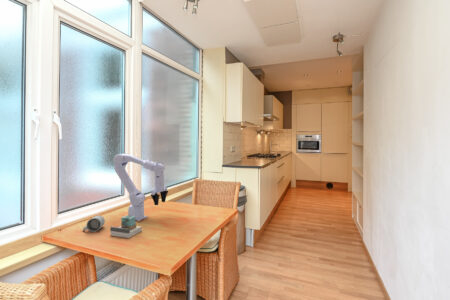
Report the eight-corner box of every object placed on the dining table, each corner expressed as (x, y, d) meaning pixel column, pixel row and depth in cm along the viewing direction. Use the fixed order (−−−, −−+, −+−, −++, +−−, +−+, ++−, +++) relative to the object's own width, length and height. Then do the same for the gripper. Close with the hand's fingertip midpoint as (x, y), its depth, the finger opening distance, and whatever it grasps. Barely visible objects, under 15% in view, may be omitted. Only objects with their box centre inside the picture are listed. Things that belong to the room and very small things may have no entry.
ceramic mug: (105, 226, 138) (105, 213, 138) (101, 231, 130) (100, 217, 130) (86, 227, 137) (85, 215, 136) (80, 233, 128) (79, 219, 128)
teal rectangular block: (121, 228, 128) (120, 217, 127) (126, 225, 131) (125, 215, 131) (131, 229, 125) (131, 218, 125) (136, 227, 129) (136, 216, 129)
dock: (110, 235, 124) (110, 227, 124) (124, 228, 134) (124, 220, 134) (128, 238, 120) (128, 229, 120) (141, 231, 130) (141, 223, 130)
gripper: (158, 185, 141) (158, 207, 142) (170, 181, 155) (171, 201, 156) (148, 184, 144) (148, 206, 144) (161, 180, 157) (162, 200, 158)
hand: (160, 203), depth 150 cm, fingers open, 7 cm apart
